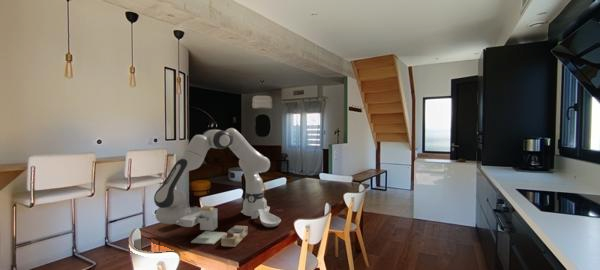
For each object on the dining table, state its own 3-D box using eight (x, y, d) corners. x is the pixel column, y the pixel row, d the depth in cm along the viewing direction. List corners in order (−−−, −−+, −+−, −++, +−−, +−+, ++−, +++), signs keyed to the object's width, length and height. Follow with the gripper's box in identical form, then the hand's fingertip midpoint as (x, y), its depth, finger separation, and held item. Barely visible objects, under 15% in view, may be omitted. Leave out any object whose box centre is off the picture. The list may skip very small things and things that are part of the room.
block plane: (235, 232, 149) (235, 222, 149) (247, 233, 148) (247, 223, 148) (221, 245, 133) (221, 234, 133) (234, 246, 131) (234, 235, 131)
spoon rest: (284, 226, 160) (284, 214, 160) (268, 231, 152) (268, 218, 152) (261, 216, 178) (261, 205, 177) (245, 220, 170) (245, 209, 170)
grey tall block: (205, 226, 145) (205, 205, 145) (217, 227, 144) (217, 206, 144) (200, 229, 140) (200, 207, 140) (212, 230, 139) (212, 208, 139)
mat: (205, 232, 150) (205, 231, 150) (226, 233, 148) (226, 232, 148) (191, 242, 136) (191, 241, 136) (213, 244, 134) (213, 243, 134)
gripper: (173, 216, 134) (199, 218, 132) (196, 205, 154) (219, 206, 152) (173, 229, 134) (199, 231, 132) (196, 216, 154) (219, 218, 152)
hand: (210, 218), depth 142 cm, fingers closed on grey tall block, 5 cm apart
